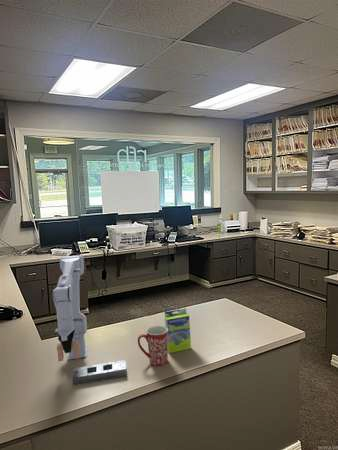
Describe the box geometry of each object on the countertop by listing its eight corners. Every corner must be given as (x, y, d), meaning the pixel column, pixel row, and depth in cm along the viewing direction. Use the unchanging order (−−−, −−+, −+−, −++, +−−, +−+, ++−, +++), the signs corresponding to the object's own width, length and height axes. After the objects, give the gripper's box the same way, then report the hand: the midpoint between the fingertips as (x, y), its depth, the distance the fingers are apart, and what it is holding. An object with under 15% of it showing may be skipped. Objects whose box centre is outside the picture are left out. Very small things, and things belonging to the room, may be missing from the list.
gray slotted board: (74, 375, 129) (73, 368, 129) (125, 367, 133) (125, 359, 133) (73, 385, 122) (72, 378, 122) (127, 376, 126) (126, 368, 126)
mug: (170, 355, 140) (168, 324, 139) (169, 366, 131) (167, 334, 130) (140, 356, 141) (138, 326, 139) (138, 368, 132) (135, 335, 130)
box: (169, 353, 142) (166, 315, 140) (166, 349, 145) (163, 311, 144) (191, 348, 145) (189, 310, 143) (188, 344, 149) (186, 307, 147)
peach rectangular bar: (58, 358, 130) (57, 343, 129) (79, 355, 131) (78, 340, 131) (57, 361, 127) (56, 346, 127) (79, 358, 129) (78, 343, 128)
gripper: (56, 312, 134) (60, 344, 135) (51, 325, 120) (54, 361, 121) (74, 309, 135) (77, 341, 137) (71, 323, 121) (74, 358, 122)
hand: (68, 350), depth 129 cm, fingers closed on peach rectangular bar, 2 cm apart
